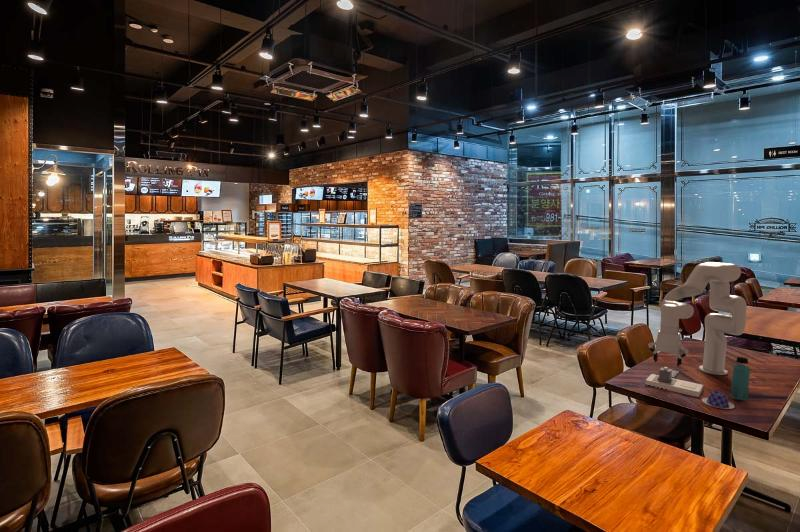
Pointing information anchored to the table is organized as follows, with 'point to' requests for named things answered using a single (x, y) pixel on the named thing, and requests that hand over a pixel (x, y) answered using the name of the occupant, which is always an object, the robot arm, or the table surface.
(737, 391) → the beverage bottle
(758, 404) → the table surface
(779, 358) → the table surface
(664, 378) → the charger
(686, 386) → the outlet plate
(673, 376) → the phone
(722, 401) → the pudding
